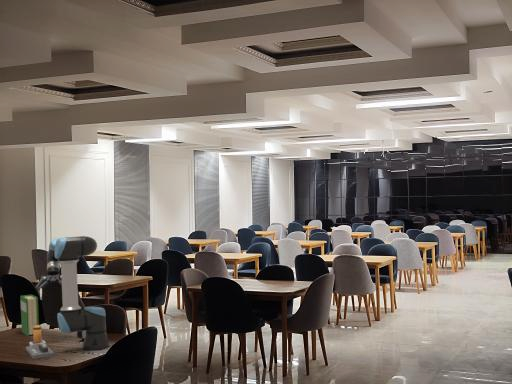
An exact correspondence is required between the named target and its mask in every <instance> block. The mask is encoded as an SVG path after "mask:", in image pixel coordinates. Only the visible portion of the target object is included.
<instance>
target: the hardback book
mask: <svg viewBox="0 0 512 384" xmlns="http://www.w3.org/2000/svg"><path fill="white" fill-rule="evenodd" d="M19 301H20V319H21V321H20V323H21V325H20V326H21V333H22V334H24V335H25V336H26V337H29V336H30V335H31V336H32V335H33V326H35V325H40V321H39V320H40V318H39V298H38V296H35V295H33V294H26V295H25V294H24V295H20V299H19Z"/></svg>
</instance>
